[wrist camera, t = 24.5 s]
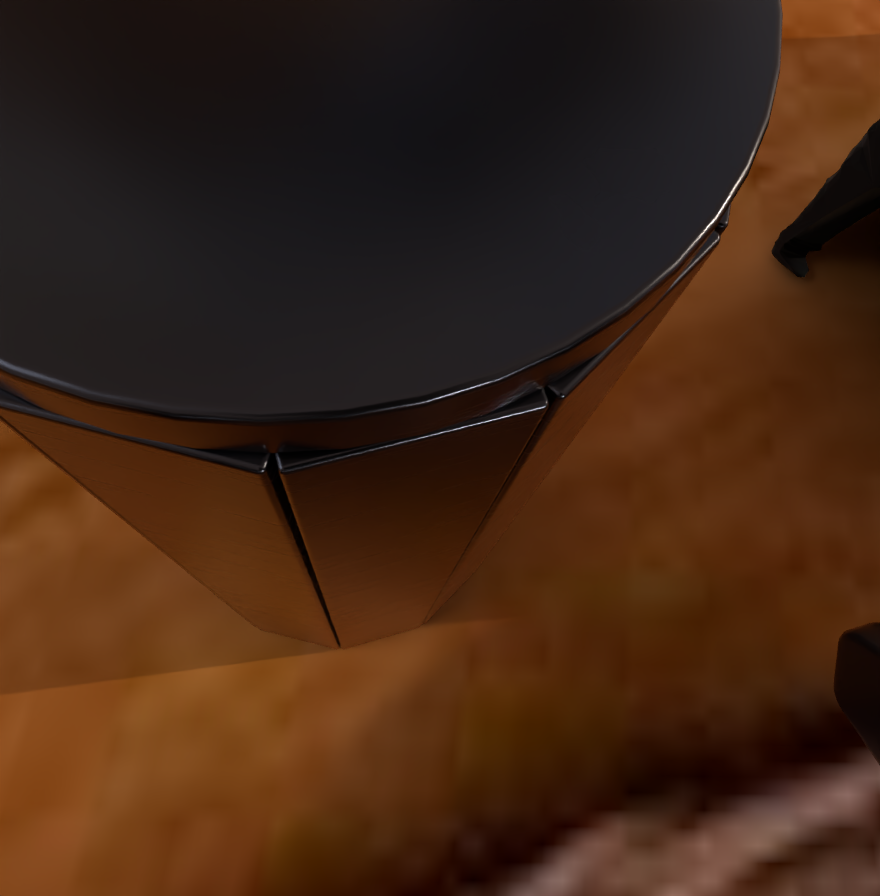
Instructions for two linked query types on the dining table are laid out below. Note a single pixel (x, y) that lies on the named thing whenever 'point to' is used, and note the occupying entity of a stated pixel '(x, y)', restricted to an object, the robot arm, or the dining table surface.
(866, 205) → the juice carton
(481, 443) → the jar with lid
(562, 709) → the dining table surface
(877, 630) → the robot arm
